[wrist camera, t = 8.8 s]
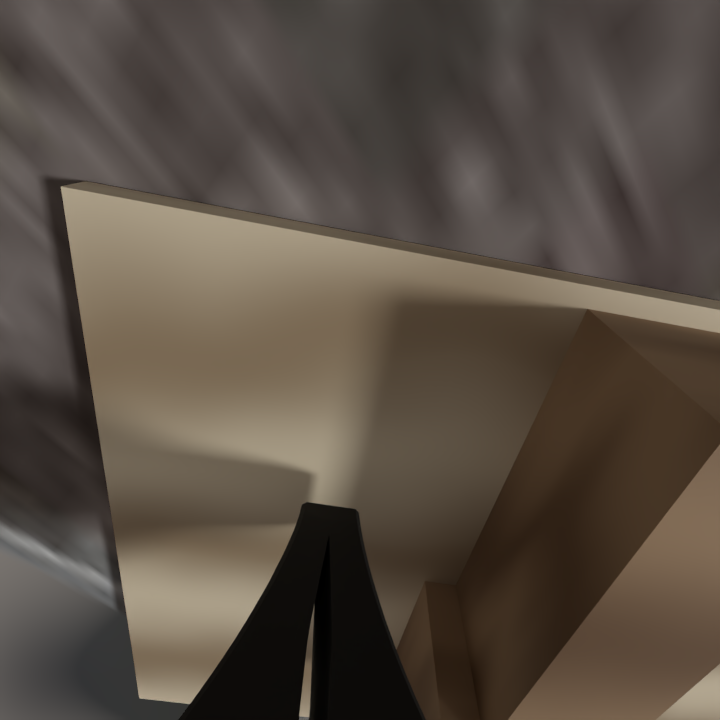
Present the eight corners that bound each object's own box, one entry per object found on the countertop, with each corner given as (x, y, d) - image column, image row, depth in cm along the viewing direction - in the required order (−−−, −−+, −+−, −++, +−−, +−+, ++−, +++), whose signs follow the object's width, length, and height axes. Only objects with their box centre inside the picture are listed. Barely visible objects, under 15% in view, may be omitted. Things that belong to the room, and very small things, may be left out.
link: (520, 678, 16) (561, 833, 13) (390, 662, 16) (396, 817, 12) (765, 341, 9) (1012, 479, 6) (540, 300, 9) (654, 419, 5)
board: (692, 738, 20) (801, 949, 15) (148, 676, 18) (62, 889, 13) (1154, 382, 10) (1920, 639, 5) (86, 180, 9) (-329, 266, 4)
